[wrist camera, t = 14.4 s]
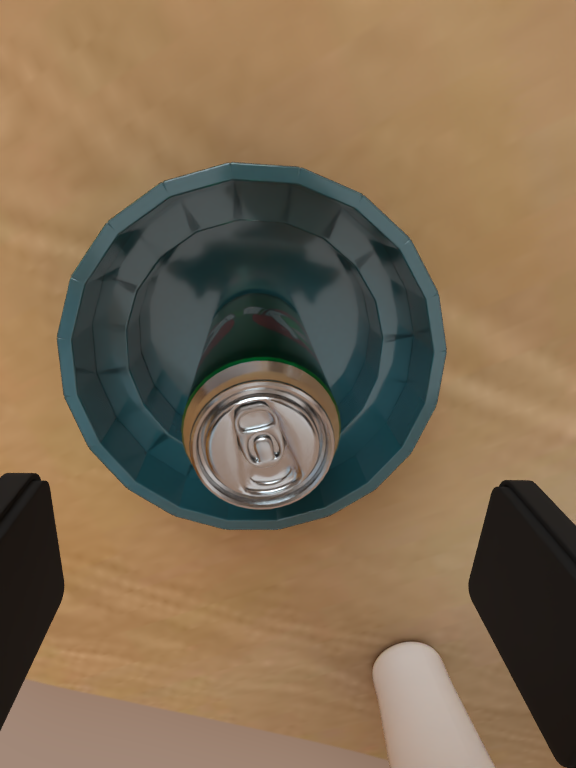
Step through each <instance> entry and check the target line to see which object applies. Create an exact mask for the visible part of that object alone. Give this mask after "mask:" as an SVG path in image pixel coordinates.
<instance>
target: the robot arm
mask: <svg viewBox="0 0 576 768" xmlns="http://www.w3.org/2000/svg"><path fill="white" fill-rule="evenodd" d="M63 593H64V578H63V571H62V565H61V558H60V552H59V545H58V538H57V532H56V525H55V519H54V512H53V505H52V499H51V492H50V487H49V483H48V482H47V481H41V479H40V477H39V475H38V474H36V473H6V474H4V475H3V476H1V478H0V730H1V728H2V726H3V724H4V722H5V720H6V718H7V715H8V713H9V711H10V709H11V707H12V705H13V703H14V701H15V698H16V696H17V694H18V692H19V690H20V688H21V686H22V683H23V682H24V679H25V677H26V675H27V673H28V671H29V669H30V667H31V665H32V663H33V660H34V658H35V656H36V654H37V652H38V650H39V648H40V646H41V643H42V641H43V639H44V637H45V635H46V633H47V631H48V629H49V626H50V624H51V622H52V620H53V618H54V616H55V614H56V612H57V610H58V607H59V605H60V603H61V601H62V597H63ZM469 594H470V597H471V600H472V602H473V604H474V606H475V608H476V609H477V611H478V613H479V615H480V617H481V619H482V621H483V623H484V625H485V627H486V628H487V630H488V632H489V634H490V636H491V638H492V640H493V642H494V644H495V646H496V647H497V649H498V651H499V653H500V655H501V657H502V659H503V661H504V663H505V665H506V666H507V668H508V670H509V672H510V674H511V676H512V678H513V680H514V682H515V683H516V685H517V687H518V689H519V691H520V693H521V695H522V697H523V699H524V701H525V702H526V704H527V706H528V708H529V710H530V712H531V714H532V716H533V718H534V720H535V721H536V723H537V725H538V727H539V729H540V731H541V733H542V735H543V737H544V739H545V740H546V742H547V744H548V746H549V748H550V750H551V752H552V754H553V756H554V757H555V759H556V760H557V762H558V763H559V764H560V765H562V766H563V767H567V768H576V525H575V524H574V523H573V522H572V521H571V520H570V519H569V518H568V517H567V516H566V515H565V514H564V513H563V512H562V511H561V510H560V509H559V508H558V507H557V506H556V505H555V503H554V502H553V501H552V500H551V499H550V498H549V497H548V496H547V495H546V494H545V493H544V492H543V491H542V490H541V489H540V488H539V487H538V486H537V485H536V484H535V483H534V482H533V481H526V480H505V481H502V483H501V484H500V485H499V487H495V488H494V489H493V491H492V493H491V497H490V501H489V505H488V509H487V513H486V516H485V520H484V524H483V528H482V532H481V536H480V540H479V544H478V548H477V551H476V555H475V559H474V563H473V567H472V571H471V575H470V579H469Z"/></svg>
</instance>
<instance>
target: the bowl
mask: <svg viewBox="0 0 576 768" xmlns="http://www.w3.org/2000/svg"><path fill="white" fill-rule="evenodd" d="M250 293H264V294H270V295H273V296H276V297H278V298H280V299H282V300H284V301H285V302H287V303H288V304H289V305H290V306H291V307H292V308H293V309H294V310H295V311H296V312H297V314H298V315H299V316H300V318H301V320H302V322H303V325H304V327H305V329H306V332H307V334H308V337H309V339H310V341H311V344H312V346H313V348H314V351H315V353H316V356H317V358H318V360H319V363H320V365H321V368H322V370H323V372H324V375H325V377H326V379H327V382H328V384H329V387H330V389H331V391H332V394H333V396H334V399H335V401H336V404H337V407H338V410H339V413H340V421H341V434H340V440H339V444H338V448H337V450H336V453H335V455H334V457H333V459H332V462H331V465H330V467H329V470H328V472H327V473H326V475H325V476H324V478H323V480H322V481H321V482H320V483H319V484H318V486H317V487H316V488H315V489H313V490H312V491H311V492H310V493H309V494H307V495H306V496H304V497H303V498H301V499H300V500H298V501H296V502H293V503H291V504H289V505H285V506H282V507H278V508H273V509H259V510H258V509H248V508H243V507H239V506H236V505H233V504H230V503H228V502H226V501H224V500H222V499H220V498H219V497H217V496H216V495H215V494H213V493H212V492H211V491H210V490H209V489H208V488H207V487H206V486H205V485H204V484H203V483H202V481H201V480H200V478H199V477H198V476H197V473H196V471H195V469H194V467H193V466H192V464H191V463H190V461H189V459H188V457H187V455H186V452H185V449H184V446H183V442H182V433H181V426H182V417H183V413H184V410H185V406H186V403H187V400H188V396H189V393H190V390H191V387H192V383H193V380H194V377H195V374H196V371H197V367H198V364H199V361H200V358H201V354H202V351H203V348H204V345H205V342H206V338H207V335H208V332H209V329H210V325H211V323H212V321H213V319H214V317H215V315H216V314H217V312H218V311H219V310H220V309H221V308H222V307H223V306H224V305H225V304H226V303H228V302H229V301H230V300H232V299H234V298H236V297H238V296H241V295H244V294H250ZM57 337H58V338H57V344H58V353H59V361H60V369H61V377H62V386H63V394H64V396H65V400H66V402H67V404H68V406H69V408H70V410H71V412H72V414H73V417H74V419H75V421H76V423H77V425H78V427H79V429H80V431H81V433H82V435H83V437H84V439H85V441H86V443H87V446H88V447H90V448H89V449H90V450H91V451H92V452H93V453H94V454H95V455H96V456H97V457H98V458H99V460H100V461H101V462H102V463H103V464H104V465H105V466H106V467H107V468H108V469H109V470H110V471H111V472H112V473H113V474H114V475H115V476H116V478H117V479H118V480H119V481H120V482H121V483H122V484H123V485H124V486H125V487H126V488H128V490H130V491H132V492H134V493H135V494H137V495H139V496H140V497H142V498H144V499H146V500H147V501H149V502H151V503H152V504H154V505H156V506H158V507H159V508H161V509H163V510H164V511H166V512H168V513H170V514H171V515H174V516H176V517H179V518H183V519H187V520H191V521H195V522H198V523H202V524H206V525H210V526H213V527H217V528H221V529H226V530H278V529H283V528H287V527H290V526H294V525H298V524H302V523H306V522H309V521H313V520H317V519H321V518H325V517H328V516H330V515H332V514H334V513H336V512H337V511H339V510H341V509H343V508H344V507H346V506H348V505H350V504H351V503H353V502H355V501H357V500H358V499H360V498H362V497H364V496H365V495H367V494H369V493H371V492H372V491H374V490H376V488H377V487H378V486H379V485H380V484H381V483H382V482H383V481H384V480H385V479H386V478H387V477H388V476H389V475H390V474H391V473H392V472H393V471H394V470H395V469H396V468H397V467H398V466H399V465H400V464H401V463H402V462H403V461H404V460H405V459H406V458H407V457H408V456H409V455H410V454H411V452H412V451H413V449H414V447H415V445H416V443H417V441H418V440H419V438H420V436H421V434H422V432H423V430H424V428H425V426H426V425H427V423H428V421H429V419H430V417H431V415H432V413H433V411H434V410H435V408H436V405H437V401H438V396H439V390H440V385H441V380H442V374H443V369H444V363H445V358H446V353H447V352H446V350H447V348H446V341H445V334H444V326H443V319H442V312H441V305H440V298H439V294H438V291H437V289H436V287H435V285H434V283H433V281H432V279H431V277H430V275H429V273H428V271H427V269H426V267H425V266H424V264H423V262H422V260H421V258H420V256H419V254H418V252H417V250H416V248H415V246H414V244H413V242H412V240H410V238H409V237H408V236H407V235H406V234H405V233H404V232H403V231H402V230H401V229H400V228H399V227H398V226H397V225H396V224H394V223H393V222H392V221H391V220H390V219H389V218H388V217H387V216H386V215H385V214H384V213H383V212H382V211H381V210H380V209H378V208H377V207H376V206H375V205H374V204H373V203H372V202H371V201H370V200H369V199H368V198H367V197H366V196H365V195H362V194H361V193H359V192H357V191H355V190H353V189H350V188H348V187H346V186H343V185H341V184H339V183H336V182H334V181H332V180H330V179H327V178H325V177H323V176H320V175H318V174H316V173H313V172H311V171H309V170H307V169H304V168H300V167H297V166H282V165H267V164H252V163H237V162H231V163H225V164H221V165H218V166H214V167H211V168H207V169H204V170H200V171H197V172H193V173H190V174H186V175H183V176H179V177H176V178H172V179H169V180H165V181H163V182H161V183H159V184H158V185H157V186H155V187H154V188H152V189H151V190H150V191H148V192H147V193H146V194H144V195H143V196H141V197H140V198H139V199H137V200H136V201H135V202H133V203H132V204H131V205H129V206H128V207H126V208H125V209H124V210H122V211H121V212H120V213H118V214H117V215H115V216H114V217H113V218H111V219H110V220H109V221H108V223H106V224H105V225H104V227H103V228H102V230H101V231H100V233H99V234H98V236H97V237H96V239H95V240H94V242H93V243H92V245H91V246H90V248H89V249H88V251H87V252H86V254H85V256H84V257H83V259H82V260H81V262H80V263H79V265H78V266H77V268H76V269H75V271H74V272H73V274H72V276H71V278H70V281H69V286H68V290H67V294H66V299H65V303H64V307H63V312H62V316H61V320H60V325H59V329H58V333H57Z"/></svg>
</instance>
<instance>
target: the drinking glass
mask: <svg viewBox="0 0 576 768" xmlns="http://www.w3.org/2000/svg"><path fill="white" fill-rule="evenodd" d="M372 678H373V683H374V687H375V691H376V695H377V699H378V704H379V709H380V715H381V720H382V726H383V732H384V738H385V743H386V749H387V755H388V761H389V766H390V768H496V767H495V765H494V763H493V761H492V759H491V757H490V756H489V754H488V752H487V750H486V748H485V746H484V744H483V742H482V740H481V738H480V736H479V734H478V732H477V730H476V728H475V726H474V725H473V723H472V721H471V719H470V717H469V715H468V713H467V711H466V709H465V707H464V705H463V703H462V701H461V699H460V697H459V695H458V693H457V691H456V689H455V687H454V685H453V683H452V681H451V679H450V677H449V675H448V672H447V670H446V667H445V665H444V663H443V660H442V658H441V657H440V655H439V654H438V652H437V651H436V650H435V649H433V648H432V647H430V646H429V645H427V644H424V643H421V642H402V643H398V644H396V645H393V646H391V647H389V648H388V649H386V650H385V651H383V652H382V653H381V654H380V655H379V657H378V658H377V659H376V661H375V663H374V666H373V670H372Z"/></svg>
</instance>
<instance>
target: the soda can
mask: <svg viewBox="0 0 576 768" xmlns="http://www.w3.org/2000/svg"><path fill="white" fill-rule="evenodd" d="M181 433H182V442H183V446H184V449H185V452H186V455H187V457H188V459H189V461H190V463H191V464H192V466H193V467H194V469H195V471H196V473H197V476H198V477H199V478H200V480H201V481H202V483H203V484H204V485H205V486H206V487H207V488H208V489H209V490H210V491H211V492H212V493H213V494H215V495H216V496H217V497H219V498H220V499H222V500H224V501H226V502H228V503H230V504H233V505H236V506H239V507H243V508H248V509H258V510H259V509H273V508H278V507H282V506H285V505H289V504H291V503H293V502H296V501H298V500H300V499H301V498H303V497H304V496H306V495H307V494H309V493H310V492H311V491H312V490H313V489H315V488H316V487H317V486H318V484H319V483H320V482H321V481H322V480H323V478H324V476H325V475H326V473H327V472H328V470H329V467H330V465H331V462H332V459H333V457H334V455H335V453H336V450H337V448H338V444H339V440H340V434H341V421H340V413H339V410H338V407H337V404H336V401H335V399H334V396H333V394H332V391H331V389H330V387H329V384H328V382H327V379H326V377H325V375H324V372H323V370H322V368H321V365H320V363H319V360H318V358H317V356H316V353H315V351H314V348H313V346H312V344H311V341H310V339H309V337H308V334H307V332H306V329H305V327H304V325H303V322H302V320H301V318H300V316H299V315H298V314H297V312H296V311H295V310H294V309H293V308H292V307H291V306H290V305H289V304H288V303H287V302H285V301H284V300H282V299H280V298H278V297H276V296H273V295H270V294H264V293H250V294H244V295H241V296H238V297H236V298H234V299H232V300H230V301H229V302H228V303H226V304H225V305H224V306H223V307H222V308H221V309H220V310H219V311H218V312H217V314H216V315H215V317H214V319H213V321H212V323H211V325H210V329H209V332H208V335H207V338H206V342H205V345H204V348H203V351H202V354H201V358H200V361H199V364H198V367H197V371H196V374H195V377H194V380H193V383H192V387H191V390H190V393H189V396H188V400H187V403H186V406H185V410H184V413H183V417H182V426H181Z"/></svg>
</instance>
